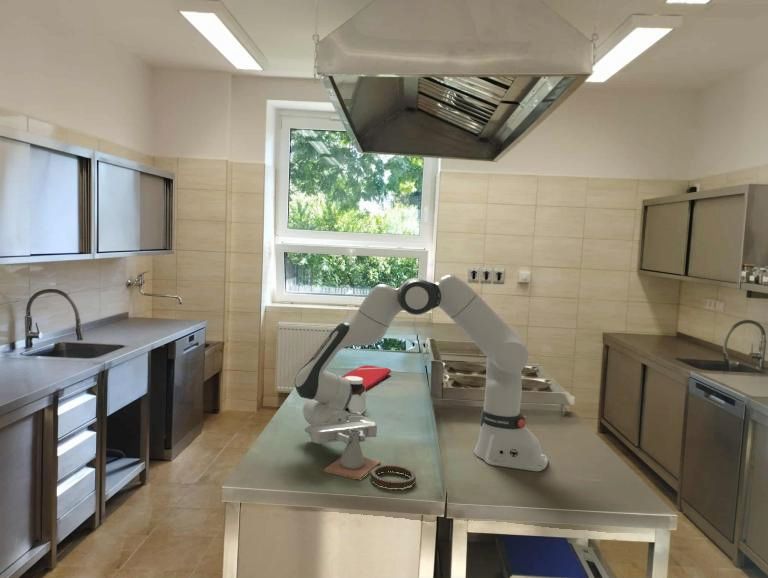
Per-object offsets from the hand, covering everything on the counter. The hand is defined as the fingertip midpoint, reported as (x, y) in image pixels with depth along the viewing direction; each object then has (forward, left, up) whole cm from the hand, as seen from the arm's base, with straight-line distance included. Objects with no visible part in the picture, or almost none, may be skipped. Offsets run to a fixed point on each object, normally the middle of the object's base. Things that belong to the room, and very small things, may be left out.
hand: (356, 439), depth 173 cm
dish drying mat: (+39, -89, -9) cm, 97 cm away
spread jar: (+24, -50, -9) cm, 56 cm away
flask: (+1, 0, -8) cm, 8 cm away
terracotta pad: (+1, -1, -8) cm, 8 cm away
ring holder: (-12, +1, -8) cm, 15 cm away
